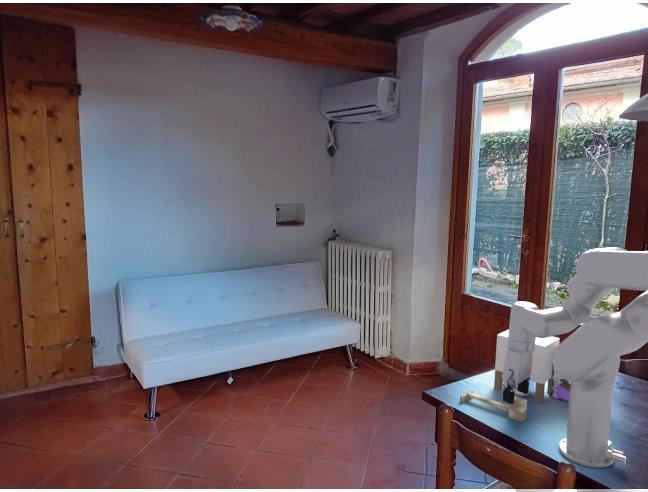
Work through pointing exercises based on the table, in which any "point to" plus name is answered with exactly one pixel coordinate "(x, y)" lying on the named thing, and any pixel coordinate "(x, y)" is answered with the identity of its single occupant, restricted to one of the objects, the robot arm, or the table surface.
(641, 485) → the table surface
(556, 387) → the candy box
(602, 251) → the robot arm
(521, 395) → the token
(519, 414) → the wooden mallet
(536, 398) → the cabinet
